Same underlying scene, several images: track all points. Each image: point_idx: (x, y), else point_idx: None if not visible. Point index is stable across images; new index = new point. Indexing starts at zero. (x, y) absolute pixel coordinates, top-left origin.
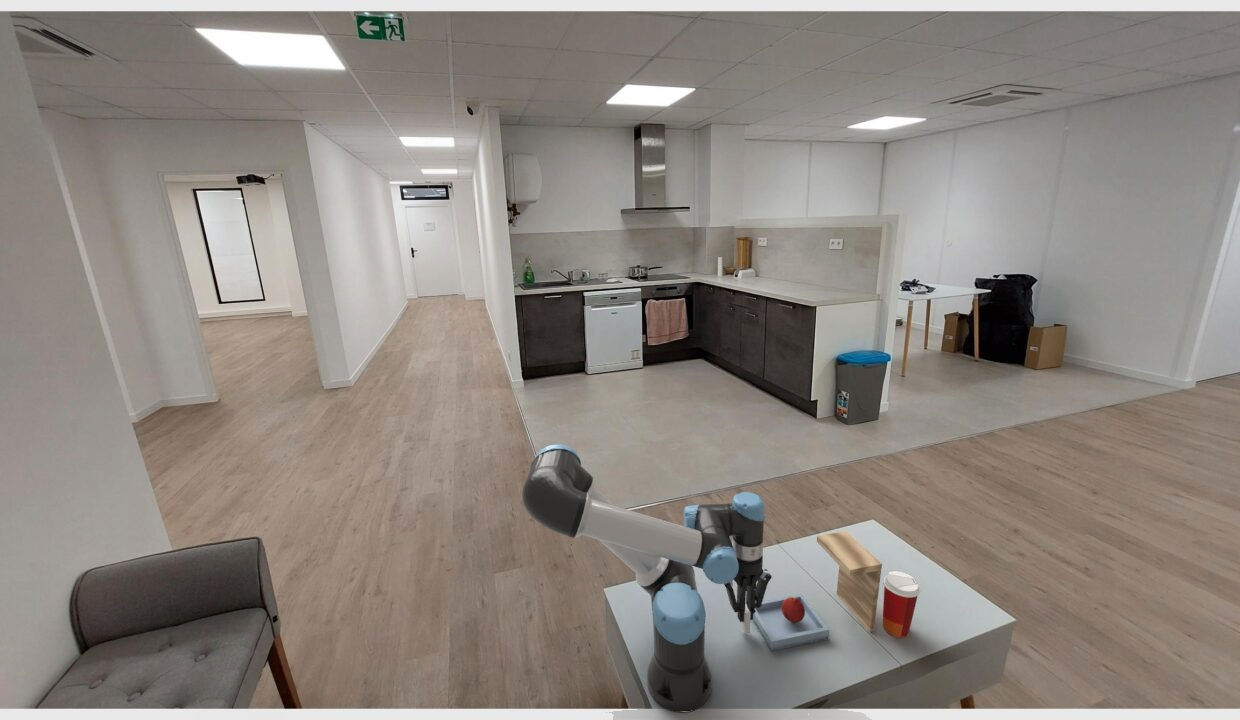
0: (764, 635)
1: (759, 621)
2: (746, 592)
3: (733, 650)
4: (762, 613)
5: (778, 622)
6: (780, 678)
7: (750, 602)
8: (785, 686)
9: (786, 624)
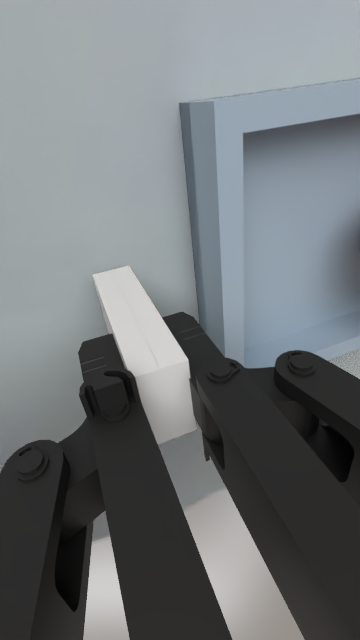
0: (209, 324)
1: (222, 285)
2: (280, 519)
3: (29, 385)
4: (264, 154)
5: (309, 231)
6: (190, 451)
7: (247, 524)
8: (194, 469)
9: (334, 246)
